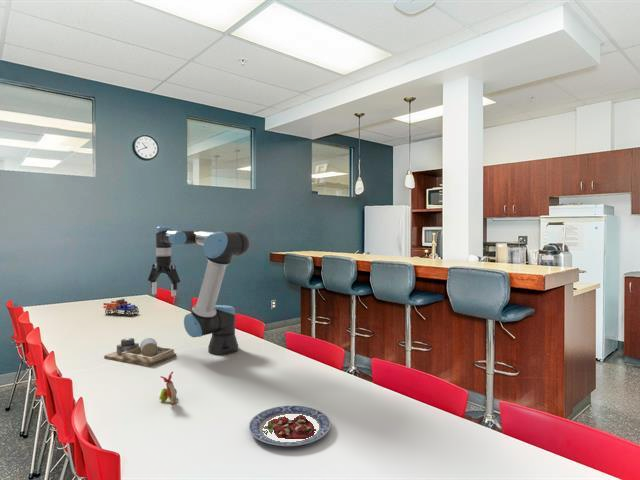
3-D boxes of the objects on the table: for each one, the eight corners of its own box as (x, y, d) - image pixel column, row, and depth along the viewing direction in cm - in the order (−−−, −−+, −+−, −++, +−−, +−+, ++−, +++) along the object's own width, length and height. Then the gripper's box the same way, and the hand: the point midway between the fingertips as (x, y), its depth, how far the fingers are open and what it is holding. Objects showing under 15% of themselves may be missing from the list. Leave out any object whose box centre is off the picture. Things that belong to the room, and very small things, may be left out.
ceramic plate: (328, 411, 142) (328, 402, 142) (333, 452, 117) (333, 442, 117) (254, 411, 142) (254, 403, 142) (242, 453, 116) (242, 442, 116)
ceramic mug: (141, 359, 191) (141, 342, 191) (139, 354, 198) (140, 338, 198) (165, 356, 196) (165, 340, 196) (163, 351, 204) (163, 336, 203)
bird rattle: (182, 406, 149) (172, 390, 155) (186, 383, 145) (177, 366, 151) (165, 412, 145) (156, 394, 151) (169, 387, 141) (160, 371, 147)
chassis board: (176, 355, 200) (176, 345, 200) (149, 366, 185) (149, 355, 185) (133, 348, 212) (132, 338, 212) (104, 358, 196) (104, 347, 196)
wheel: (137, 350, 203) (137, 338, 203) (127, 354, 198) (127, 341, 197) (128, 349, 206) (128, 337, 205) (118, 352, 200) (118, 340, 200)
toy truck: (131, 317, 283) (131, 301, 283) (101, 315, 290) (101, 299, 289) (140, 314, 292) (139, 299, 291) (110, 312, 298) (110, 297, 297)
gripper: (186, 255, 216) (187, 295, 217) (151, 254, 226) (151, 292, 226) (176, 256, 209) (177, 298, 210) (140, 255, 219) (141, 294, 220)
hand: (163, 295), depth 218 cm, fingers open, 13 cm apart
